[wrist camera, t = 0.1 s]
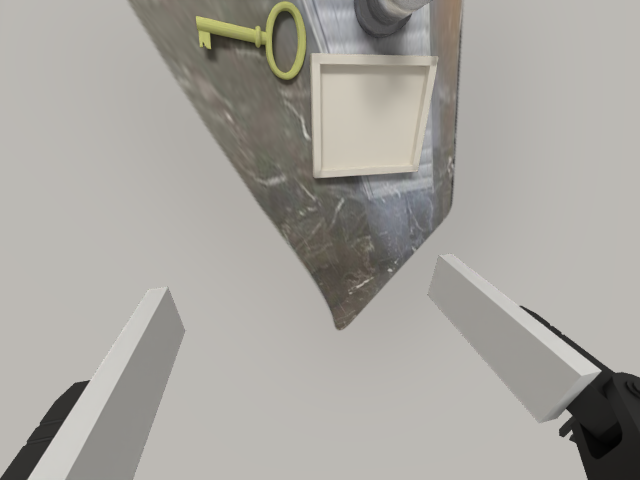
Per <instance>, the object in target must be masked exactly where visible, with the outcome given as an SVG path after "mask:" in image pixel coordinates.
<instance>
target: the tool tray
mask: <svg viewBox="0 0 640 480" xmlns="http://www.w3.org/2000/svg"><path fill="white" fill-rule="evenodd" d="M438 58H439V56H406V55H365V54H324V53H311V55H310V86H311V124H312V162H313V177H314V178H326V177H341V176H356V175H372V174H387V173H402V172H418V166H419V161H420V155H421V150H422V145H423V139H424V134H425V128H426V123H427V118H428V112H429V107H430V101H431V96H432V91H433V85H434V80H435V74H436V69H437V64H438Z"/></svg>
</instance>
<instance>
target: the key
mask: <svg viewBox="0 0 640 480" xmlns="http://www.w3.org/2000/svg"><path fill="white" fill-rule="evenodd" d="M281 11H288V12H290V13H291V14H292V16H293V17H294V20H295V23H296V28H297V33H298V50H297V55H296V60H295V62H294V65H293V67H292V69H291V70H290V71H289V72H287V73H283V72H281V71H280V70H279V69H278V68H277V67H276V64H275V61H274V58H273V52H272V33H273V26H274V22H275V20H276V17H277V15H278V14H279V13H280V12H281ZM196 23H197V30H199V41H200V47H201V48H203V43H204V44H205V47H207V49H211V41H210V33H212V34H217V35H222V36H226V37H231V38H235V39H240V40H244V41H249V42H253V43H255V45H256V47H258V48H259V47H260V45H261V44H263V45H265V46H266V55H267V60H268V63H269V65H270V68H271V70H272V71H273V73H274V74H275V75H276V76H277V77H279V78H281V79H285V80H289V79H292V78H293V77H295V76H296V75H297V74H298V72H299V71H300V69H301V67H302V65H303V62H304V57H305V51H306V32H305V27H304V23H303V20H302V17H301V14H300V12H299V10H298V9H297V8H296V6H294V5H293V4H292V3H290V2H285V1H284V2H280V3H278V4H276V5H275V6H274V7H273V8H272V10H271V12H270V14H269V16H268V20H267V25H266V32H263V31H261V29H260V27H259V26H256V28H255V30H254V29H250V28H246V27H241V26H237V25H233V24H229V23H225V22H220V21H216V20H212V19H208V18H203V17H199V16H196Z"/></svg>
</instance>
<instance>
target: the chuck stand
mask: <svg viewBox="0 0 640 480" xmlns="http://www.w3.org/2000/svg"><path fill="white" fill-rule="evenodd" d="M430 1H432V0H354V6H355V12H356V16H357V19H358V21H359V23H360V25H361V27H362V28H363V29H364V30H365V31H366V32H367V33H368V34H369V35H371V36H374V37H386V36H388V35H390V34H392V33H394V32H395V31H397V30H399V29H400V28H401V27H403V26H404V25H405V24H406V22H407V21H408V20H409V18H410V17H411V15H412V13H413V12H415V11H416V10H418V9H419V8H421V7H423V6H424V5H426V4H427V3H429V2H430Z"/></svg>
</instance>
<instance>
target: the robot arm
mask: <svg viewBox="0 0 640 480" xmlns="http://www.w3.org/2000/svg"><path fill="white" fill-rule="evenodd" d="M428 296H429V297H430V298H431V299H432V301H433V302H434V303H435V304H436V305H437V306H438V308H439V309H440V310H441V311H442V312H443V313H444V314H445V316H446V317H447V318H448V319H449V320H450V321H451V322H452V324H453V325H454V326H455V327H456V328H457V329H458V331H459V332H460V333H461V334H462V335H463V336H464V338H465V339H466V340H467V341H468V342H469V343H470V344H471V346H472V347H473V348H474V349H475V350H476V351H477V352H478V354H479V355H480V356H481V357H482V358H483V359H484V361H485V362H486V363H487V364H488V365H489V366H490V367H491V369H492V370H493V371H494V372H495V373H496V374H497V375H498V376H499V378H500V379H501V380H502V381H503V382H504V383H505V385H506V386H507V387H508V388H509V389H510V390H511V392H512V393H513V394H514V395H515V396H516V397H517V398H518V400H519V401H520V402H521V403H522V404H523V405H524V407H525V408H526V409H527V410H528V411H529V412H530V413H531V414H532V416H533V417H534V418H535V419H536V420H537V422H539V423H541V422H545V421H549V420H552V419H556V418H558V417H559V415H560V414H561V413H562V412H563V411H564V410H565V409H567V410H568V411H569V412H570V413H571V414H572V415H573V416H572V417H571V418H570V419H569V420H568V421H567V422H566V423H565V424H564V425H563V426H562V427H561V428H560V429H559V436H562V437H565V436H566V435H567V434H568V433H569V432H570V431H571V430H572V431H573V434H572V435H571V437H570V439H569V440H570V441H573V442H575V443H576V444H577V447H578V450H579V453H580V456H581V460H582V462H583V466H584V469H585V472H586V475H587V478H588V480H640V378H639V377H637V376H634V375H632V374H628V373H623V372H621V373H615V372H613V371H612V370H610V369H609V368H608V367H606V366H605V365H603V364H602V363H601V362H599V361H598V360H597V359H595V358H594V357H593V356H592V355H590V354H589V353H588V352H586V351H585V350H584V349H582V348H581V347H580V346H578V345H577V344H576V343H574V342H573V341H572V340H570V339H569V338H568V337H566V336H565V335H562V334H561V332H560V331H559V330H557V329H556V328H555V327H553V326H550V324H549V323H548V322H547V321H546V320H544V319H543V318H541V317H540V316H539V315H537V314H536V313H534V312H532V311H530V310H528V309H527V308H525V307H523V306H518V305H517V304H516V303H514V302H513V301H512V300H510V299H509V298H508V297H507V296H505V295H504V294H503V293H502V292H500V291H499V290H498V289H496V288H495V287H494V286H493V285H491V284H490V283H489V282H487V281H486V280H485V279H483V278H482V277H481V276H480V275H479V274H477V273H476V272H475V271H473V270H472V269H471V268H470V267H468V266H467V265H466V264H464V263H463V262H462V261H461V260H459V259H458V258H457V257H455V256H454V255H453V254H444V255H439V257H438V260H437V264H436V267H435V271H434V274H433V278H432V281H431V284H430V288H429V291H428ZM184 333H185V329H184V327H183V324H182V321H181V319H180V316H179V314H178V311H177V309H176V306H175V303H174V301H173V298H172V296H171V293H170V291H169V288H168V287H162V288H154V289H148V291H147V292H146V294H145V295H144V297H143V298H142V300H141V302H140V303H139V305H138V307H137V308H136V309H135V311H134V313H133V314H132V316H131V317H130V319H129V321H128V322H127V324H126V325H125V327H124V329H123V330H122V331H121V333H120V335H119V336H118V338H117V339H116V341H115V343H114V344H113V346H112V347H111V349H110V351H109V352H108V354H107V355H106V357H105V358H104V360H103V361H102V363H101V365H100V366H99V368H98V369H97V371H96V372H95V374H94V376H93V377H92V379H91V380H89V381H83V382H77V383H74V384H73V385H72V386H71V387H70V388H69V389H68V390H67V391H66V392H65V393H64V394H63V395H61V396H60V397H59V398H58V399H57V400H56V401H55V402H54V404H53V405H52V407H51V408H50V409H49V411H48V412H47V414H46V415H45V416H44V418H43V419H42V421H41V422H40V426H39V427H37V428H36V429H35V430H34V432H33V433H32V435H31V436H30V437H29V439H28V440H27V444H26V445H25V446H23V447H22V449H21V450H20V452H19V453H18V454H17V456H16V457H15V459H14V460H13V461H12V463H11V464H10V466H9V467H8V468H7V470H6V471H5V473H4V474H3V476H2V477H1V478H0V480H133V477H134V475H135V472H136V469H137V466H138V463H139V461H140V457H141V454H142V452H143V449H144V446H145V443H146V440H147V438H148V435H149V432H150V429H151V427H152V423H153V421H154V418H155V415H156V412H157V409H158V407H159V404H160V401H161V398H162V395H163V392H164V390H165V387H166V384H167V381H168V378H169V375H170V372H171V370H172V367H173V364H174V361H175V358H176V356H177V352H178V349H179V347H180V344H181V341H182V339H183V336H184Z"/></svg>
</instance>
